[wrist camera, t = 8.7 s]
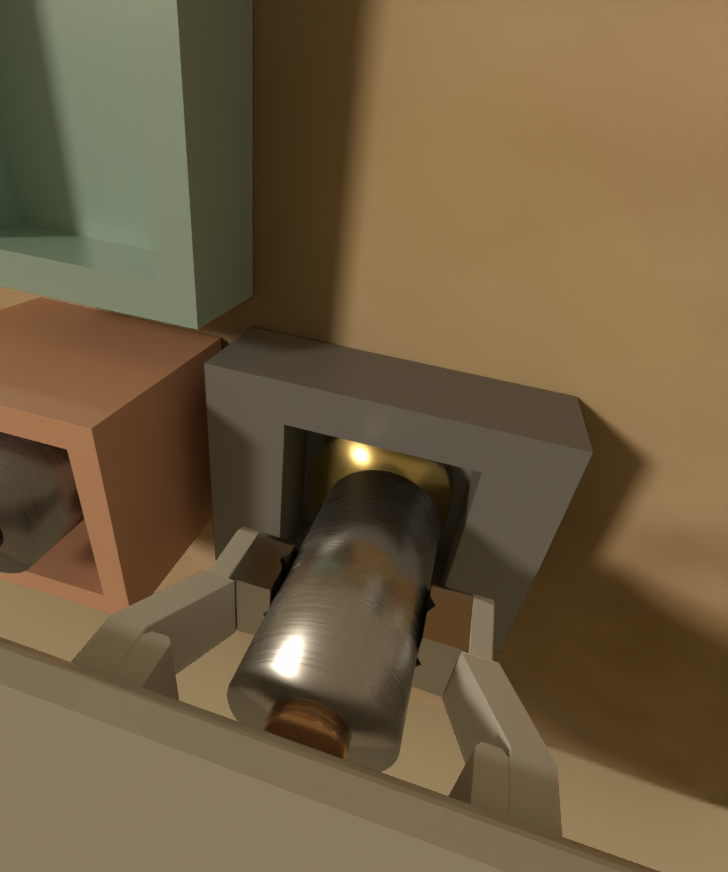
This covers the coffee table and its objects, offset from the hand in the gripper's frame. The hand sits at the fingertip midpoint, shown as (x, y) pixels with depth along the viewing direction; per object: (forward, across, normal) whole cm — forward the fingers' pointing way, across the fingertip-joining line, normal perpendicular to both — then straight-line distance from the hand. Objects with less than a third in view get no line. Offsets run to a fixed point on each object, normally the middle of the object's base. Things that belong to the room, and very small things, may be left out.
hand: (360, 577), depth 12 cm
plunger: (+4, 0, 0) cm, 5 cm away
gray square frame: (+5, 0, 0) cm, 5 cm away
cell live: (+2, 0, 0) cm, 2 cm away
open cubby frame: (+5, +10, 0) cm, 11 cm away
